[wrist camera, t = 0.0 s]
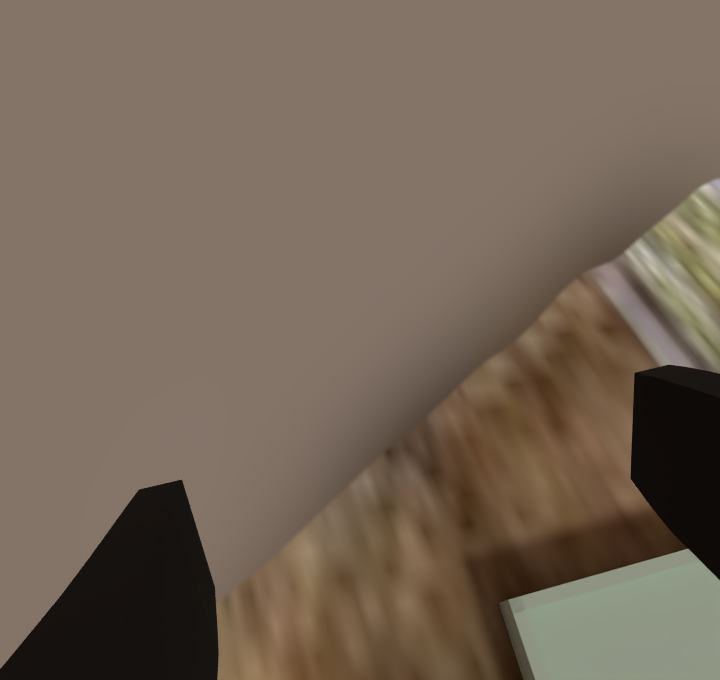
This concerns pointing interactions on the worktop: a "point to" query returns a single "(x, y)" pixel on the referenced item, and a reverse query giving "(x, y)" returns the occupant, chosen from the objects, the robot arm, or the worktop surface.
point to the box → (622, 624)
